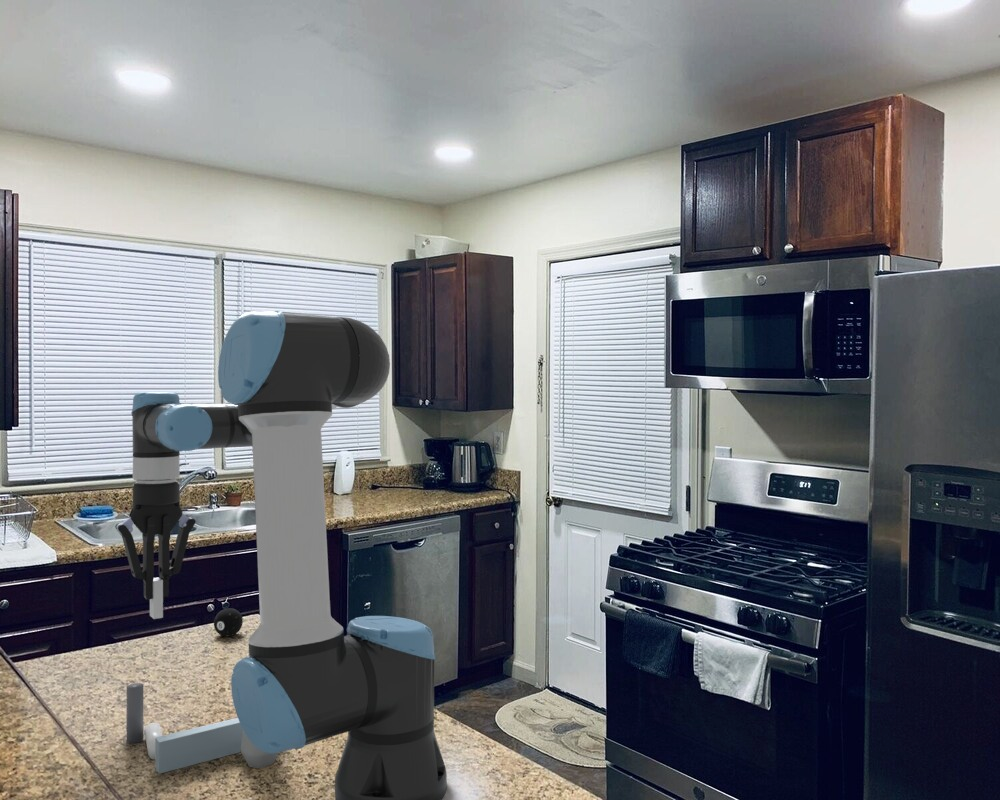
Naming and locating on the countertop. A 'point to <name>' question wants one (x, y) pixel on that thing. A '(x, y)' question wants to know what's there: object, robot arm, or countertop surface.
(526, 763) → the countertop surface
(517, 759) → the countertop surface
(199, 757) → the board
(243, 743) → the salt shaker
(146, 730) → the white pin
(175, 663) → the countertop surface
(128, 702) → the charcoal pin
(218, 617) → the billiard ball
